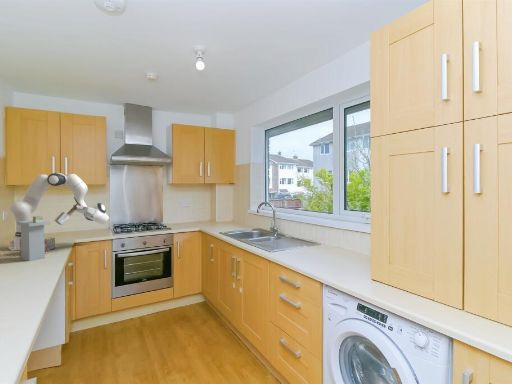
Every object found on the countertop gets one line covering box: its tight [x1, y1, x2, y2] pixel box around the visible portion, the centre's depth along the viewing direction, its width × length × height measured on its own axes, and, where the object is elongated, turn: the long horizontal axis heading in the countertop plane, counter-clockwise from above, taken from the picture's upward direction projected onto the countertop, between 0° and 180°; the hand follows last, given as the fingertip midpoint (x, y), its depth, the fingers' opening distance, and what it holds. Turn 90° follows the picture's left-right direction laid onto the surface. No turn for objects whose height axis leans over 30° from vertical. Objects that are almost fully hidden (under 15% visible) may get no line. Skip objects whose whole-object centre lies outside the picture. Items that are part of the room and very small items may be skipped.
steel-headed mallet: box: [53, 203, 80, 226], centre depth 218 cm, size 5×20×5 cm
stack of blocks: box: [19, 237, 56, 255], centre depth 218 cm, size 21×6×12 cm, turn 157°
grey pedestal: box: [17, 219, 50, 262], centre depth 198 cm, size 18×12×26 cm, turn 61°
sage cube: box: [32, 215, 44, 223], centre depth 195 cm, size 4×4×4 cm
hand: (75, 205), depth 222 cm, fingers closed on steel-headed mallet, 2 cm apart
